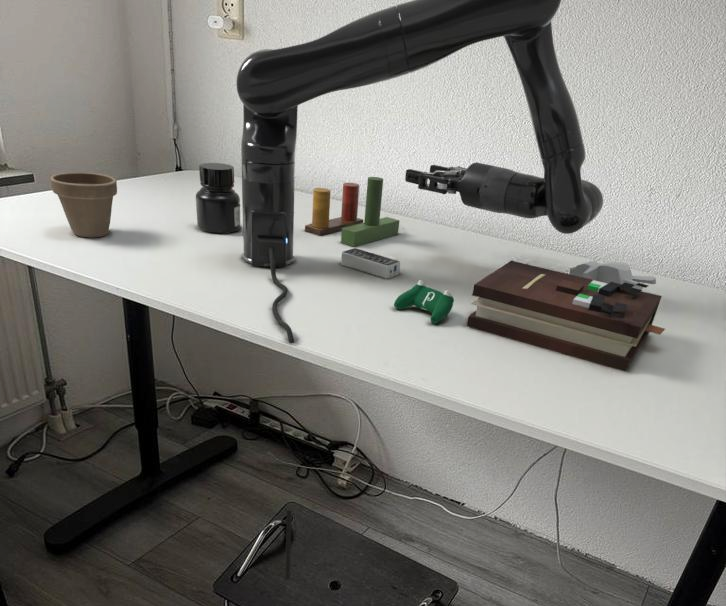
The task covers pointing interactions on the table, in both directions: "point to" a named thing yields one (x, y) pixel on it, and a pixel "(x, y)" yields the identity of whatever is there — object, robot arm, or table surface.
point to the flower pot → (86, 201)
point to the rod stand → (322, 208)
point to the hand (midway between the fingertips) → (418, 172)
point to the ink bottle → (217, 199)
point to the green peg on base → (371, 219)
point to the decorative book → (566, 313)
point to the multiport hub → (370, 263)
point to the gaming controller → (426, 301)
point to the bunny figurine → (610, 273)
